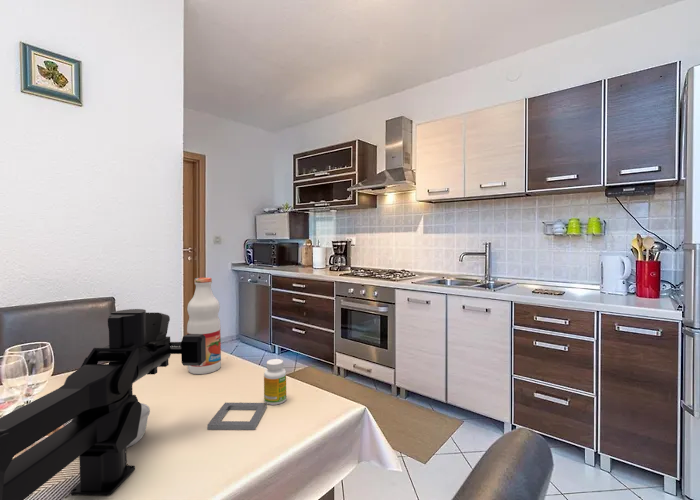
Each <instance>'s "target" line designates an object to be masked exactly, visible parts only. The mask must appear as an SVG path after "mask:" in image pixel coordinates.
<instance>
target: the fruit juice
mask: <svg viewBox="0 0 700 500" xmlns="http://www.w3.org/2000/svg"><path fill="white" fill-rule="evenodd" d="M212 283H213V279H212V277H196V278H194V285H195V290H194V294H193V296H192V298H191V299H190V300H189V302H188V303H187V314H188V317H189V318H188V321H187V326H186V335H187V334H203V335H204V336H205V339H206V360H205V361H204V362H203V363H202V364H201V365H200V366H187V370H188V372H189V373H190V374H193V375H206V374H211V373H214V372H216V371H218V370H220V368H221V366H222V348H221V347H222V346H221V345H222V342H221V341H222V340H221V339H222V338H221V320H220V317H219V312H220V308H221V306H220V302H219V300H218V299H217V297H215V295H214V293H213V290H212Z"/></svg>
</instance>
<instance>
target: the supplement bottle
mask: <svg viewBox="0 0 700 500" xmlns="http://www.w3.org/2000/svg"><path fill="white" fill-rule="evenodd" d="M286 400H287V371H286V369H285V368H284V360H283V359H279V358H273V359H268V360H267V361H266V370H264V372H263V401H264V403H267V405H273V406H276V405H280V404H282V403H283V404H284V403H285V402H286Z"/></svg>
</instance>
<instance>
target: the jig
mask: <svg viewBox="0 0 700 500" xmlns="http://www.w3.org/2000/svg"><path fill="white" fill-rule="evenodd" d="M267 408H268V404H267V403H265V402H224V403H223V405H222V406H221V407H220V408H219V410H218V411H217V412H216V413H215V414H214V416H213V417H212V418H211V420H209V422H208V423H207V424H206V425H207V427H206V428H207V430H213V431H215V430H218V431H220V430H226V431H227V430H229V431H230V430H232V431H234V430H235V431H236V430H237V431H239V430H240V431H242V430H243V431H252V430H253V431H255V430H256V429H257V426H258V425H259V423H260V421H261V419H262V417H263V415H264V413H265V411H266V410H267ZM229 411H255V412H254V413H253V416H252V417H251V419H250V420H249V421H248V420H247V421H245V420H244V421H243V420H242V421H241V420H240V421H237V420H235V421H234V420H233V421H232V420H230V421H229V420H227V421H226V420H225V421H224V420H223V418H225V416H226V415H227V414H228V412H229Z"/></svg>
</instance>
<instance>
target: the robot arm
mask: <svg viewBox="0 0 700 500" xmlns="http://www.w3.org/2000/svg"><path fill="white" fill-rule="evenodd" d="M170 320H171V317H170V315H168V314H166V313H162V312H147V310H146V309H143V308H131V309H130V308H129V309H122V310H121V309H120V310H115V311H112V312H110V314H108V318H107V327H108V345H106V346H103V347H93V348H92V350H91V352H89V354H88V356H86V357H85V358H84V360H83V363H82V364H81V366H80V367H79V368H78V369H76V370H75V371H73V372H72V373H71V374H70V375H68V376H67V377H65V381H64V383H63V385H61V386H60V387H58V388H56V389H55V390H53V391H51V392H49V393H46V394H44V395H43V396H41V397H39V398H37V399H35V400H32V401H31V402H29V403H27V404H25V405H23V406H21V407H19V408H17V409H15V410H14V411H11V412H10V413H8V414H5V415H3V416H1V417H0V500H26V499H27V498H28V497H30V496H31V495H32V494H33V493H35V492H36V491H38V489H40V488H41V487H42V486H44V485H45V484H46V483H47V482H48V481H50V480H51V479H52V478H53V477H55V476H56V475H58V474H59V473H60V472H61V471H63V470H64V469H65V468H67V467H68V466H69V465H70V464H72V463H73V462H74V461H75V460H76V459H78V458H79V459H78V460H79V461H78V462H79V482H78V484H76V485H75V486H74V487H73V488H72V489H70V495H75V496H76V495H78V496H80V495H81V496H88V495H89V496H109V495H111V494H114V492H115V491H116V489H117V488H119V487H120V486H121V484H122V483H123V482H124V481H126V479H127V478H128V477H129V476H130V475H131V474H132V473H133V472H134V471H135V470H136V466H135V465H127V464H128V463H127V462H128V461H127V458H128V457H127V448H128V447H127V446H128V445H129V444H130V443H131V442H132V441H133V440H134V439H135V438H136V437H137V434H138V428H139V422H140V417H141V410H142V406H141V403H142V402H140V401H139V399H138V397H137V395H136V394H133V384H134V383H135V382H137V381H138V380H140V379H142V378H143V377H145V376H146V375H156V374H157V373H158V368H163V367H165V368H166V367H168V366H169V365H170V363H169V360H170V358H171V355H181V358H180V360H181V364H182V365H183V366H185V367H186V366H187V367H188V366H200V365H201V364H202V363H203V362H204V361H205V360H206V339H205V336H204V335H203V334H187V333H186V334H185V335H183V336H182V339H181V341H171V336H167V334H168V329H169V324H170V323H169V322H170ZM100 362H105V363H100ZM106 362H107V363H106ZM66 423H67V424H66ZM65 424H66V425H65ZM63 425H64V426H63ZM60 427H61V428H60ZM52 432H53V433H52ZM47 435H48V436H47ZM43 438H44V439H43ZM41 439H42V440H41ZM36 442H37V443H36ZM35 443H36V444H35ZM30 446H31V447H30ZM29 447H30V448H29ZM126 447H127V448H126ZM27 448H28V449H27ZM25 449H26V450H25ZM22 451H24V452H22ZM21 452H22V453H21ZM16 455H17V456H16Z"/></svg>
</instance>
